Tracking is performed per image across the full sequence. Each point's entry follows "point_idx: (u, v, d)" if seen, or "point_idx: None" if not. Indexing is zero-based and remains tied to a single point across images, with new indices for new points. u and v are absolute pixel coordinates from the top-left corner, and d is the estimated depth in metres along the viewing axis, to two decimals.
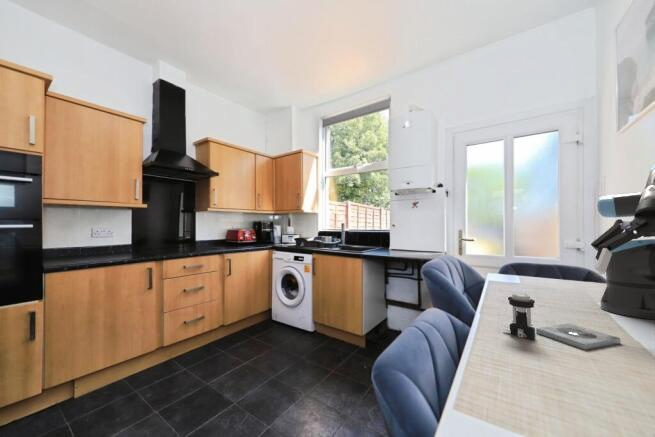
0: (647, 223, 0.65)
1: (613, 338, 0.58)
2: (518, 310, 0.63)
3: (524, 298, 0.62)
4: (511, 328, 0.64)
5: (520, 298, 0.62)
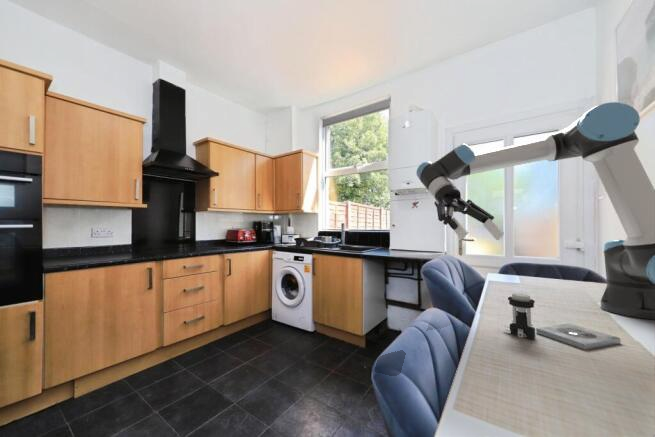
0: None
1: (613, 338, 0.58)
2: (518, 310, 0.63)
3: (524, 298, 0.62)
4: (511, 328, 0.64)
5: (520, 298, 0.62)
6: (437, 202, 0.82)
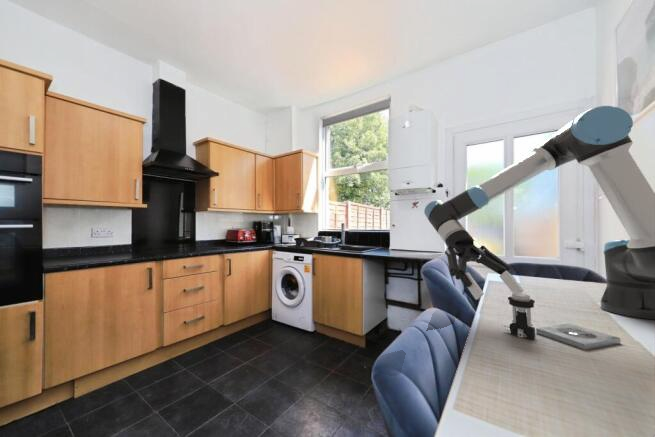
0: None
1: (613, 338, 0.58)
2: (518, 310, 0.63)
3: (524, 298, 0.62)
4: (511, 328, 0.64)
5: (520, 298, 0.62)
6: (448, 252, 0.76)
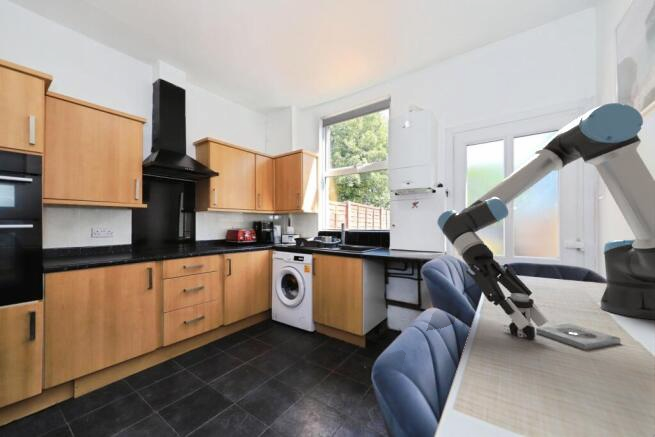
0: None
1: (613, 338, 0.58)
2: None
3: (523, 298, 0.61)
4: (511, 328, 0.64)
5: (519, 299, 0.62)
6: (472, 272, 0.69)
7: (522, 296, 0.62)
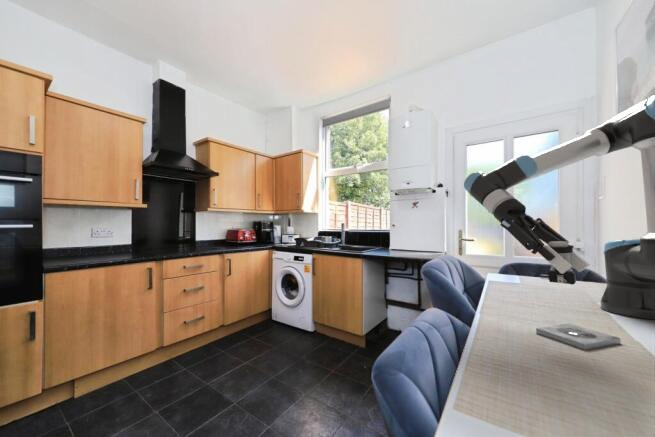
0: None
1: (613, 338, 0.58)
2: None
3: (563, 244, 0.61)
4: (550, 275, 0.63)
5: (558, 244, 0.61)
6: (507, 224, 0.69)
7: (561, 242, 0.62)
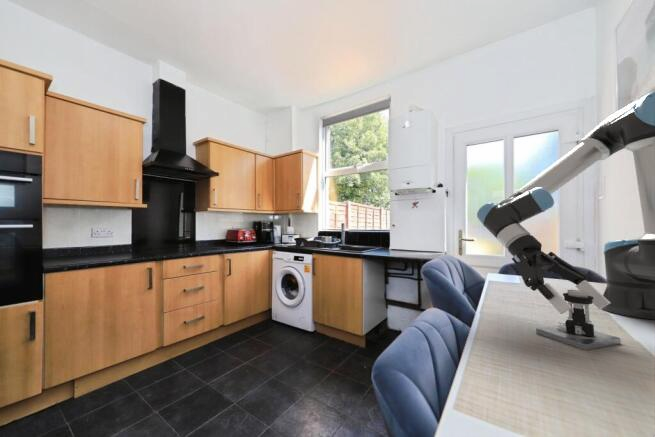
0: None
1: (613, 338, 0.58)
2: (575, 306, 0.62)
3: (582, 294, 0.60)
4: (567, 325, 0.62)
5: (578, 294, 0.61)
6: (517, 259, 0.69)
7: (581, 292, 0.61)
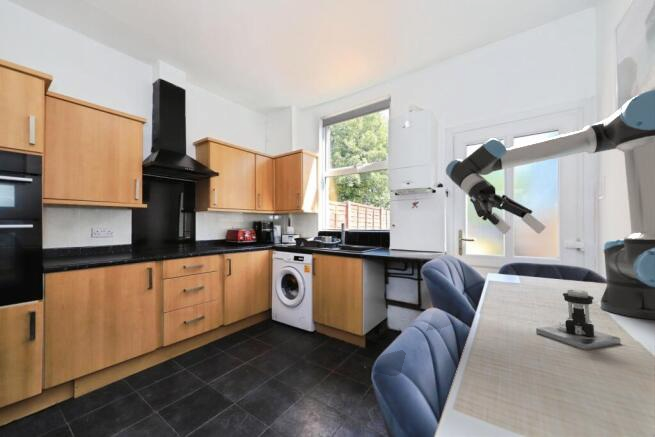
0: None
1: (613, 338, 0.58)
2: (575, 306, 0.62)
3: (582, 294, 0.60)
4: (567, 325, 0.62)
5: (578, 294, 0.61)
6: (473, 198, 0.82)
7: (581, 292, 0.61)
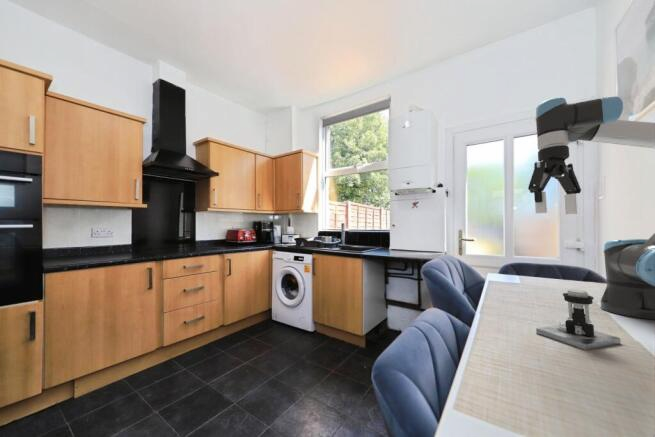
0: None
1: (613, 338, 0.58)
2: (575, 306, 0.62)
3: (582, 294, 0.60)
4: (567, 325, 0.62)
5: (578, 294, 0.61)
6: (538, 165, 0.80)
7: (581, 292, 0.61)
